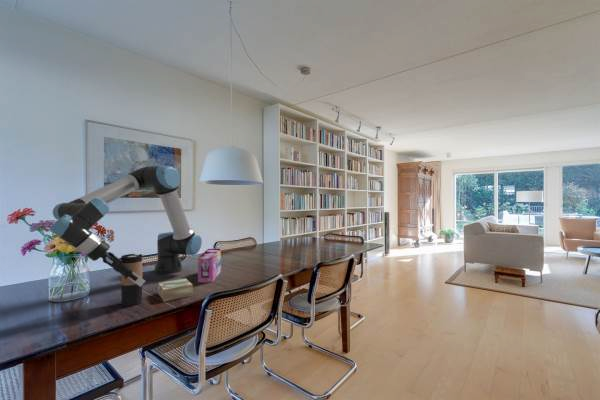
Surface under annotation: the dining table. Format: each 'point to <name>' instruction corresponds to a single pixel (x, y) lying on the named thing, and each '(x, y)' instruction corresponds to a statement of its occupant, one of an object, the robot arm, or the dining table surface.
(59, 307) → the dining table surface
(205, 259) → the gum box
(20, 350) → the dining table surface
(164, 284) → the pedestal
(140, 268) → the travel mug
